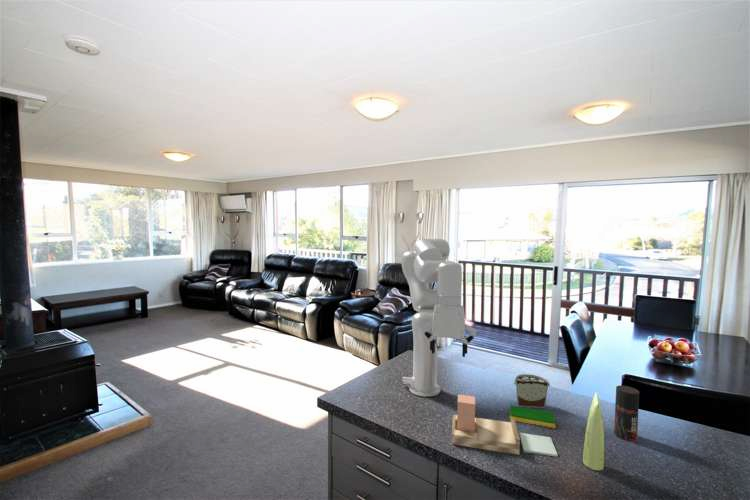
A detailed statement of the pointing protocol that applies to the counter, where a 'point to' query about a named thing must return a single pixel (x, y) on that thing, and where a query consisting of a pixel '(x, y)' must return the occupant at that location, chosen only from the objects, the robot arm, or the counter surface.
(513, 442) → the open box
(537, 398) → the food container
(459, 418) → the block
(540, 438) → the mat
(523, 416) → the dish sponge
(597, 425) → the tube
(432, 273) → the robot arm
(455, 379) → the counter surface
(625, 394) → the deodorant
